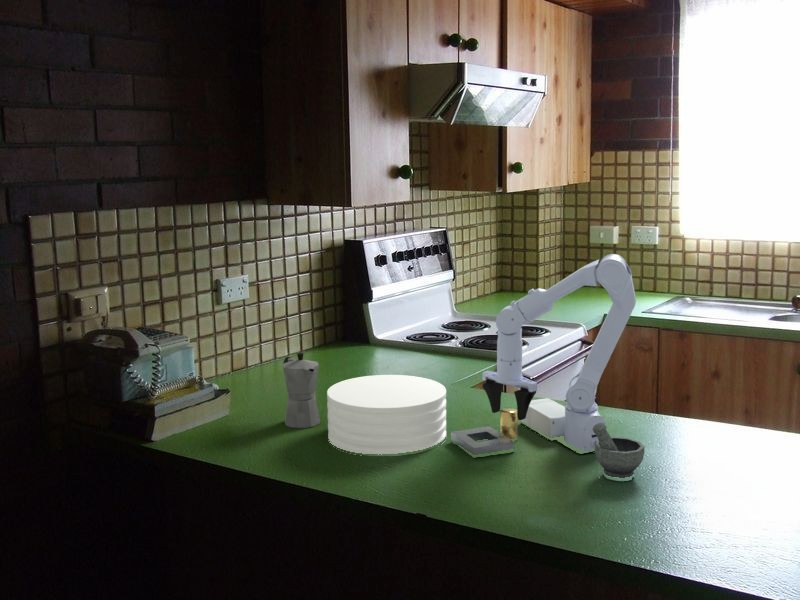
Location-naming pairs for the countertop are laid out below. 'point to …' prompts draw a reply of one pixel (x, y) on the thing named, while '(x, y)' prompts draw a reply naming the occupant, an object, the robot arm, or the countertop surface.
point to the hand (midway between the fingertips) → (508, 415)
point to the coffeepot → (301, 392)
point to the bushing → (509, 423)
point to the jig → (491, 445)
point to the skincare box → (546, 417)
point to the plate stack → (386, 414)
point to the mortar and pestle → (617, 453)
